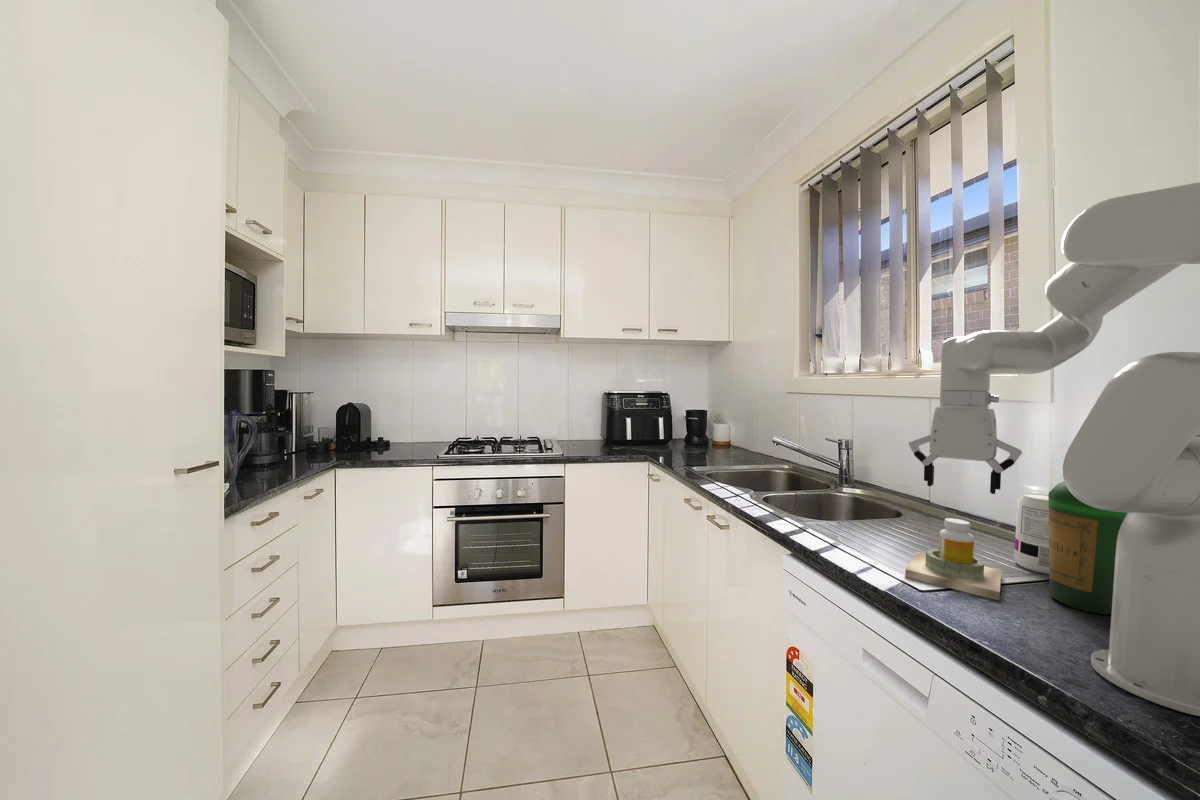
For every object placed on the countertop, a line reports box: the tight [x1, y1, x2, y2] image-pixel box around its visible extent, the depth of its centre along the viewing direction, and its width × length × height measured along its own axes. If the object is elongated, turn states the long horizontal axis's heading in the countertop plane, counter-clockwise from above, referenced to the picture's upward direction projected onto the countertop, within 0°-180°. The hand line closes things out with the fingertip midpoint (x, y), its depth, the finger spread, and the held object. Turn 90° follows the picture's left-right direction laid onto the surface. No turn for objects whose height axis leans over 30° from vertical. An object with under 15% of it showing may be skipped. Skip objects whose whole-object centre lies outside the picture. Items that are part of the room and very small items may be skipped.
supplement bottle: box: [938, 517, 975, 564], centre depth 92 cm, size 5×5×10 cm
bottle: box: [1047, 480, 1128, 615], centre depth 81 cm, size 11×11×28 cm
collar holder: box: [904, 548, 1002, 601], centre depth 92 cm, size 14×14×4 cm
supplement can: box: [1013, 492, 1049, 575], centre depth 98 cm, size 8×8×15 cm
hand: (960, 488), depth 91 cm, fingers open, 9 cm apart
